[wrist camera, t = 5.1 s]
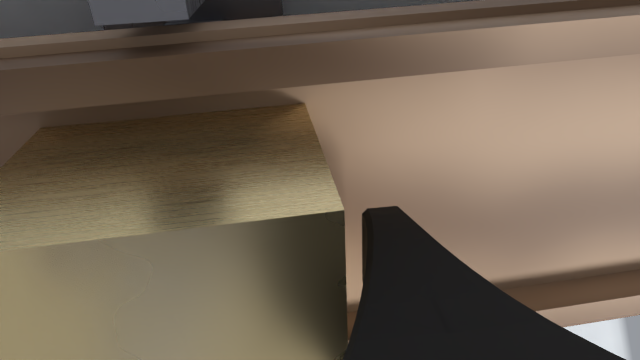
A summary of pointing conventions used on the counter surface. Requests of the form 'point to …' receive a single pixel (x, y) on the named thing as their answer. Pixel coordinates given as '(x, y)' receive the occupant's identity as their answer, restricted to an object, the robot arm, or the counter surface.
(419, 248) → the robot arm
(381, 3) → the counter surface
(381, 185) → the beam
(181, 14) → the stand
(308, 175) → the block
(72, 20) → the counter surface
